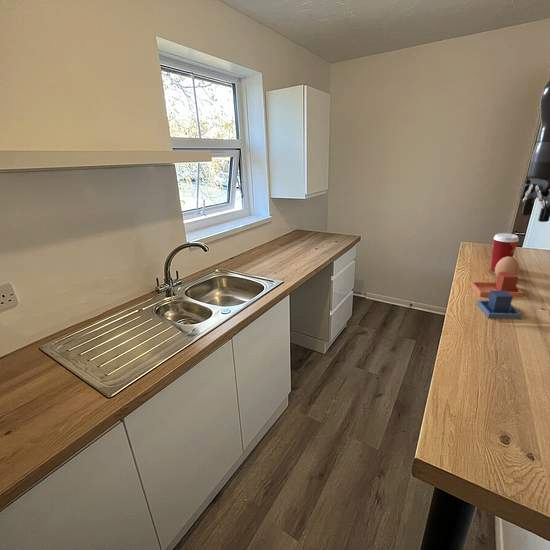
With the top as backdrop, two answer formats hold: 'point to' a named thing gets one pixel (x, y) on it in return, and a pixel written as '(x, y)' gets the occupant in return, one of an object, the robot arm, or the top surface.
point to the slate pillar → (499, 302)
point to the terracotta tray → (486, 287)
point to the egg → (507, 266)
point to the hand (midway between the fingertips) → (534, 218)
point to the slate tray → (511, 315)
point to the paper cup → (503, 247)
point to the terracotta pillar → (506, 281)
